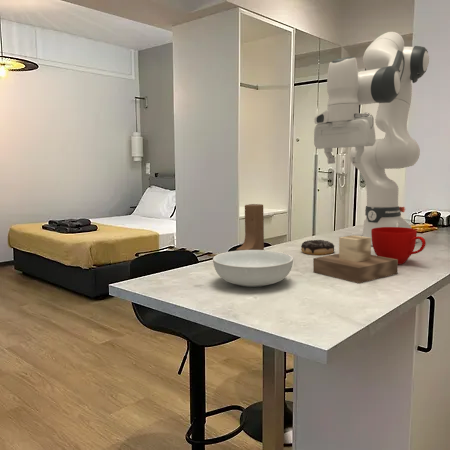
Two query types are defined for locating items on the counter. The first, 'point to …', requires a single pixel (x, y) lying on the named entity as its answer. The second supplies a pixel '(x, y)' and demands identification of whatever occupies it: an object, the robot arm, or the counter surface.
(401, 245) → the ceramic cup
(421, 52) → the robot arm
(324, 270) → the plinth
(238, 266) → the serving bowl
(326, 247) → the donut
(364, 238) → the beech cube
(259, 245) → the wooden block
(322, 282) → the counter surface
